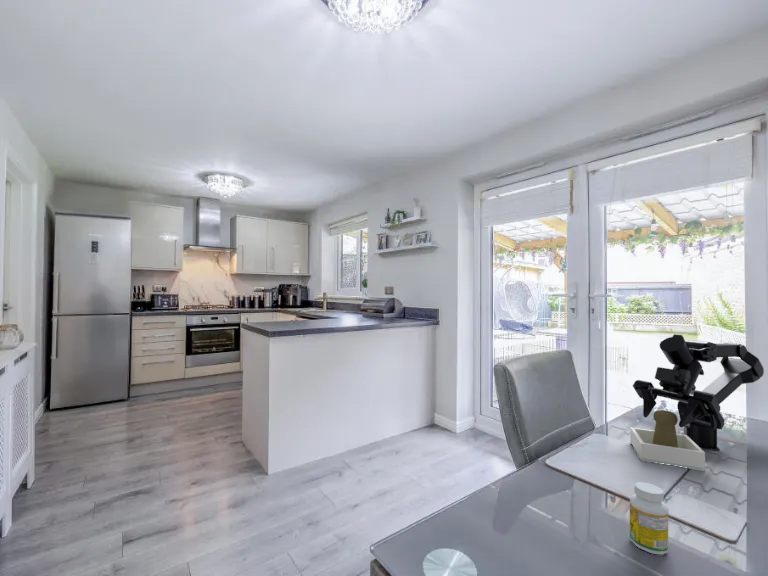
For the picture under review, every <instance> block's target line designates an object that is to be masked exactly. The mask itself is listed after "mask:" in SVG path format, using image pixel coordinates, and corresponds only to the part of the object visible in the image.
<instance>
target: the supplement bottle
mask: <svg viewBox="0 0 768 576" xmlns="http://www.w3.org/2000/svg"><path fill="white" fill-rule="evenodd" d="M633 489H634V494H633V495H631V496H630V498H629V540H630V542H631V541H632V542H633V543H634V544H635V545H636V546H638V547H639V548H641V549H643V550H646V551H648V552H651V553H655V554H664V553H666V554H667V553H669V507H668V506H667V504H666V503H665V502H663V501H664V497H665V495H664V490H663V489H662V488H660V487H659V486H657V485H656V484H655V485H654V484H651V483H648V482H643V481H642V482H641V481H640V482H639V481H638V482H635V483H634V487H633ZM632 542H631V543H632ZM633 543H632V544H633ZM634 544H633V545H634ZM635 545H634V546H635ZM636 546H635V547H636ZM639 548H638V549H639Z"/></svg>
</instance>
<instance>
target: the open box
mask: <svg viewBox="0 0 768 576" xmlns="http://www.w3.org/2000/svg"><path fill="white" fill-rule="evenodd" d="M629 428H630V430H629V431H630V432H629V434H630V436H629V438H630V439H629V440H630V445H631V444H632V445H633V447H634V449H635V450H636V452H637V454H638V455H637V454H636V455H637V457H638V456H639V457H638V459H639V458H640V459H639V460H642V461H641V462H645V461H649V462H648V463H651V462H657V463H664V464H670V465H677V466H682V467H687V468H689V469H688V470H694V471H695V470H696V471H700V472H706V452H705V451H704V449H703V448H700V447H699V446H698V445H697V444H696V443H695V442H693V441H692V440H691V439H690V438H689V437H688V436H687V435H684V433H682V434H681V433H676V436H677V442H678V448H676V447H669V446H663V445H656V444H652V443H653V437H654V431H655V429H654V430H652V429H647V428H646V429H645V428H639V427H629ZM632 445H631V446H632ZM633 447H632V448H633ZM634 449H633V450H634ZM635 450H634V451H635ZM636 452H635V453H636ZM657 463H656V464H657ZM687 468H686V469H687Z"/></svg>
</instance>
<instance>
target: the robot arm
mask: <svg viewBox="0 0 768 576" xmlns="http://www.w3.org/2000/svg"><path fill="white" fill-rule="evenodd" d="M659 349H660V350H661V351H662V353H663V354H664V357H666V359H667V360H668V362H669V364H671V365H673V367H672V368H667V367H661V366H658V367H656V371H655V375H654V379H655V380H658V382H659V383H658V385H659V386H660V387H662V389H661V388H657V387H655V386H654V385H653V383H652V382H651V381H645V380H640V379H637V380H635V381H634V383H633V384H632V387H633V389H634V390H635V392H636V394H637V396H638V397H639V398H640V399H642V403H643V404H642V407H643V409H642V411H643V412H642V415H643V417H644V418H646V419H647V418H648V417H649V415H650V414H651V412H652V411H653V409H654V408H655V407H656V405H657V402H656V400H657V398H658V397H662V398H667V399H670V400H674V401H677V407H676V408H677V412H678V416H679V418H680V419H679V421H678V422H679V423H678V426H679V427H680V428H683V435H687V436H688V437H689V438H690V439H691V440H692V441H693V442H695V443H696V444H697V445H698V446H699V447H700V448H701V449H703V450H709V451H720V448H719V447H718V430H723V428H724V425H725V418H724V417H723V416H722V414H721V413H720V412H721V405H720V404H721V403H723V402H724V401H725V400H726V399H727V398H728V397H730V396H731V395H732V393H734V392H735V391H736V390H737V389H738V388H739V387H741V385H746V384H752V383H755V382H757V381H758V380H760V379H761V378H762V377H763V376H764V375H765V372H764V371H765V370H764V367H763V365H762V362H761V361H760V359H759V357H757V356H755V355H754V354H752V353H751V352H750V351H749V350H748V349H747V348H746V346H745V345H744V344H742V343H733V342H732V343H731V342H724V343H715V342H710V341H702V340H691V339H685V337H684V336H683V334H675V333H674V334H673V335H672V336H670V337H666V338H664V339H663V340H662V341H661V340H660V343H659ZM717 358H721V360H720V362H719V363H720V364H721V366H722V368H723V372H722V373H721V374H720V375H719V376H718V377H717V378H716V379H714V380H713V381H712V382H711V383H709V385H707V386H706V387H705V388H704V389H703V390H701V391H700V390H697V387H696V385H695V384H696V382H697V380H698V377H699V376H704V375H705V371H704V369H703V365H702V364H701V363H700V362H704V363H711V362H715V361H716V360H717Z"/></svg>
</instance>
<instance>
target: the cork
mask: <svg viewBox="0 0 768 576" xmlns="http://www.w3.org/2000/svg"><path fill="white" fill-rule="evenodd" d="M653 419H654V421H655V426H654V437H653V443H652V444H656V445H663V446H669V447H676V448H678V442H677V436H676V434H677V430H676V425H677V424H678V422H679V419H678V416H677V414H676V413H674V412H672V411H669V410H663V409H659V410H655V411H654V412H653Z"/></svg>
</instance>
